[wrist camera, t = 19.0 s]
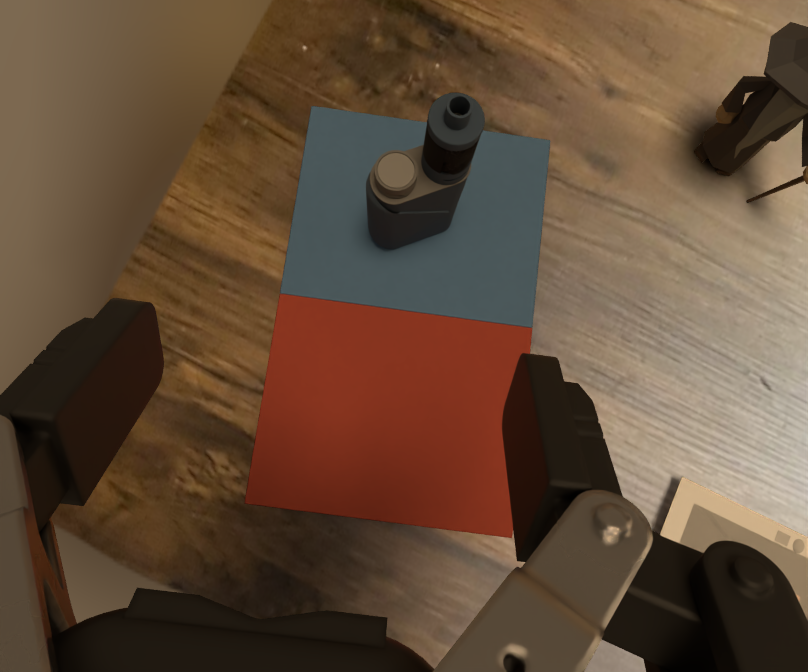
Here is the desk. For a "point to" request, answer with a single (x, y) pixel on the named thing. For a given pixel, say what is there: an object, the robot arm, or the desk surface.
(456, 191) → the vaping device
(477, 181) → the sorting mat
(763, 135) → the wizard figurine
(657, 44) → the desk surface
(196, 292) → the desk surface
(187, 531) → the desk surface
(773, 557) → the touchpad
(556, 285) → the desk surface
